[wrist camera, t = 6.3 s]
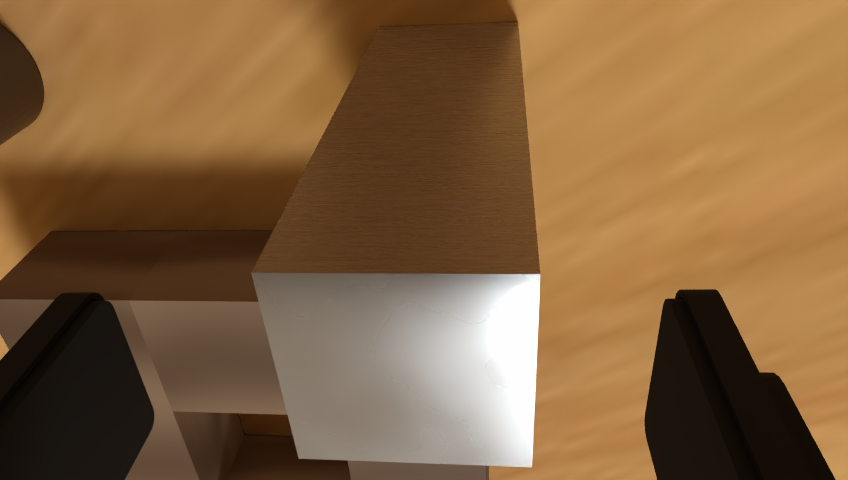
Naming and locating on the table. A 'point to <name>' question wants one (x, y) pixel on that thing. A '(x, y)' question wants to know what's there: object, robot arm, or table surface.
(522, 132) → the square bit
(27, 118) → the round bit
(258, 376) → the bore block
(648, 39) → the table surface
